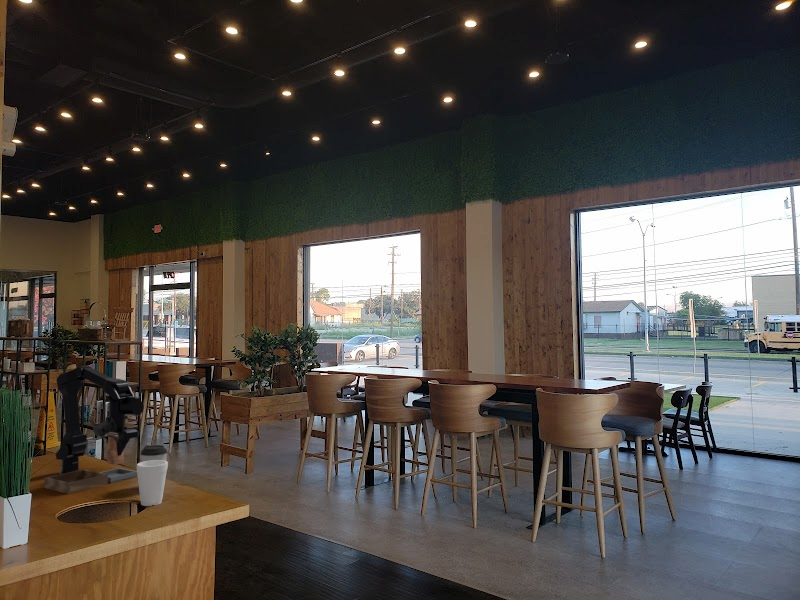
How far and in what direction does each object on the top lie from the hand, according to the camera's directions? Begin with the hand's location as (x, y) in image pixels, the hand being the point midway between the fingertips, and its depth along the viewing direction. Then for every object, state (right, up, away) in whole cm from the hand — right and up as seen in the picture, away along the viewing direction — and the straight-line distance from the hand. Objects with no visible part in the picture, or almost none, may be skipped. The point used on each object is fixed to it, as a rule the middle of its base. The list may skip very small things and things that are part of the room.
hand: (115, 454), depth 222 cm
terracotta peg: (0, -3, 0) cm, 3 cm away
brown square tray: (-9, -9, -12) cm, 17 cm away
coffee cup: (+19, -9, -11) cm, 24 cm away
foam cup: (+26, -8, -29) cm, 40 cm away
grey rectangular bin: (0, -9, 0) cm, 9 cm away
